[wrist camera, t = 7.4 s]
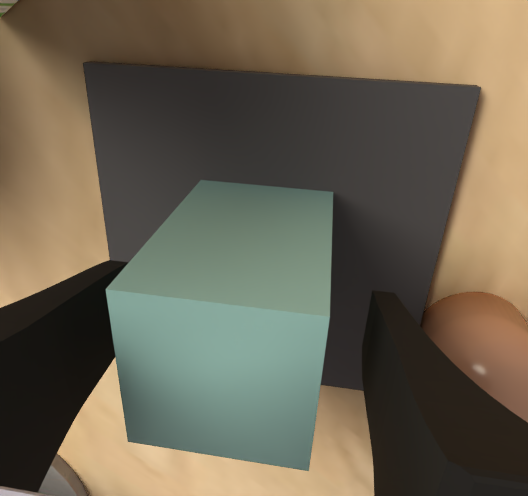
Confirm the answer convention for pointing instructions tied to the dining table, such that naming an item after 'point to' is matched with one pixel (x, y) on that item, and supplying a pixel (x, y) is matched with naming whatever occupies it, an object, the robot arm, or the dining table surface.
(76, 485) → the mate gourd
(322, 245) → the teal block
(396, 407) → the robot arm
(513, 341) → the peach domed capsule
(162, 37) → the dining table surface
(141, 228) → the black mat
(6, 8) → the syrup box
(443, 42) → the dining table surface
